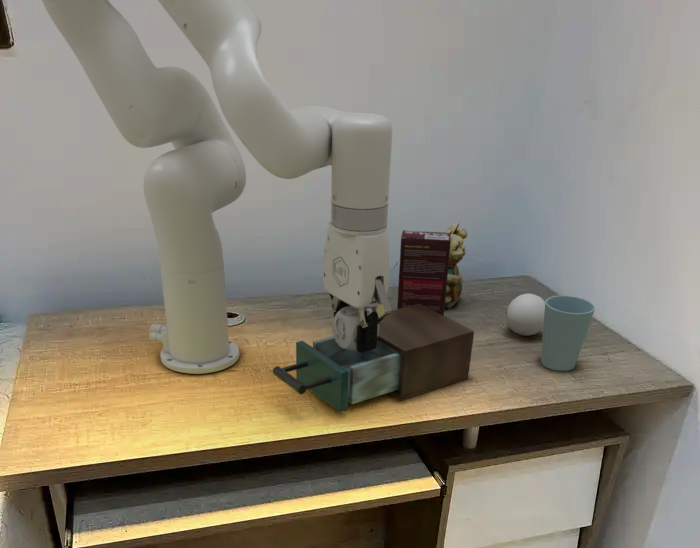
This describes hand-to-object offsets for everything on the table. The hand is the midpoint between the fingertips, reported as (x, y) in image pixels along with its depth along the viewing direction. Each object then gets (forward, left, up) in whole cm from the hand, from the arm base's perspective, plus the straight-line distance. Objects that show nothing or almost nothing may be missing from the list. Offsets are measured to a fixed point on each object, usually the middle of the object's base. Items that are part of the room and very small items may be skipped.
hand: (354, 341), depth 108 cm
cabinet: (+6, +9, -8) cm, 14 cm away
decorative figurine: (+3, +41, -8) cm, 42 cm away
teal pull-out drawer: (-2, -2, -7) cm, 8 cm away
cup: (+28, +22, -8) cm, 37 cm away
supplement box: (+2, +30, -8) cm, 31 cm away
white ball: (+20, +33, -8) cm, 40 cm away
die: (0, 0, -1) cm, 1 cm away
